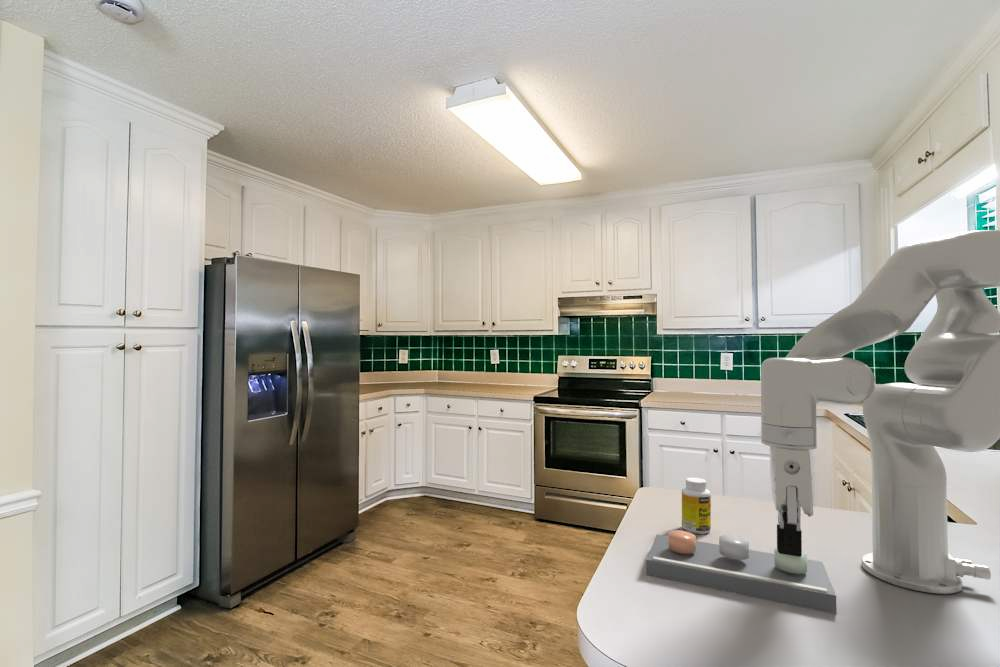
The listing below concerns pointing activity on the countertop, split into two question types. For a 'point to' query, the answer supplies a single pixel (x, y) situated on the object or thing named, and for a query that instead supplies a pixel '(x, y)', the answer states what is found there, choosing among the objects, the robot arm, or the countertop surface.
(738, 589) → the button panel
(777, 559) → the sage button
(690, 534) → the terracotta button
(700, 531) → the supplement bottle
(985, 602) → the countertop surface
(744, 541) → the grey button
